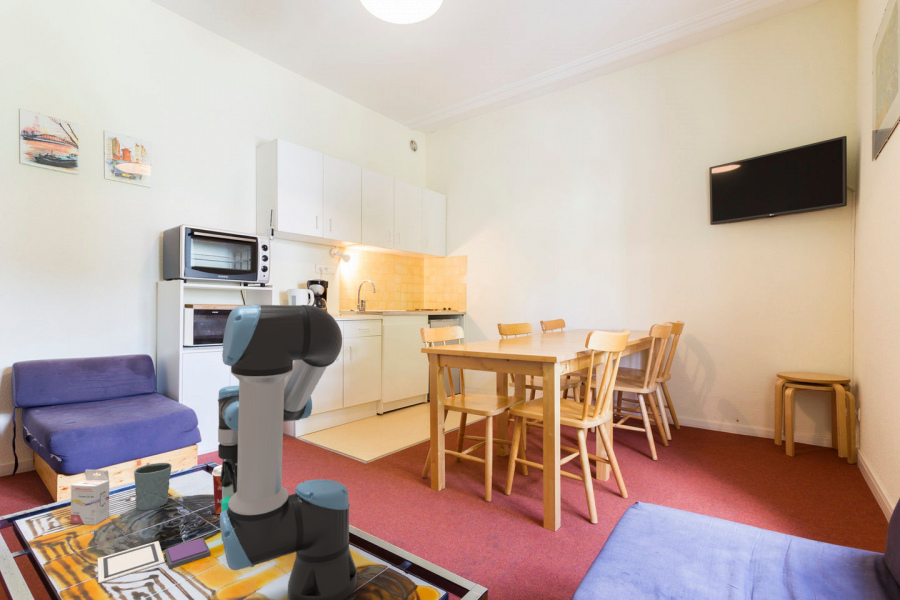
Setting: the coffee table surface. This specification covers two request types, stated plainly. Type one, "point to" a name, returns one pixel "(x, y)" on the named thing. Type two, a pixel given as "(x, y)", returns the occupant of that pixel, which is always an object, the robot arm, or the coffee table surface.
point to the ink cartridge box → (90, 498)
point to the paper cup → (217, 488)
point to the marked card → (129, 561)
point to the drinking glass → (152, 485)
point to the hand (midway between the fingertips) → (233, 517)
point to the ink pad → (186, 552)
